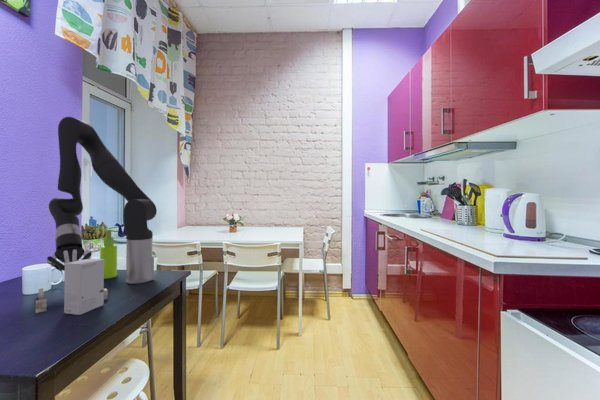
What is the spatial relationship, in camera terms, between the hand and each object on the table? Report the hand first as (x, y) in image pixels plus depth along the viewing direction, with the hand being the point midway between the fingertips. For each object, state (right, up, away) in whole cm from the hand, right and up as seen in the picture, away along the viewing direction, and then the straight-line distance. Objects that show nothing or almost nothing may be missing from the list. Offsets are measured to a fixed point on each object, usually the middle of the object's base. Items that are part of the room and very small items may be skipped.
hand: (71, 278), depth 97 cm
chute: (+1, -6, -1) cm, 6 cm away
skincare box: (+13, -7, -11) cm, 18 cm away
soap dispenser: (-2, -6, +23) cm, 24 cm away
